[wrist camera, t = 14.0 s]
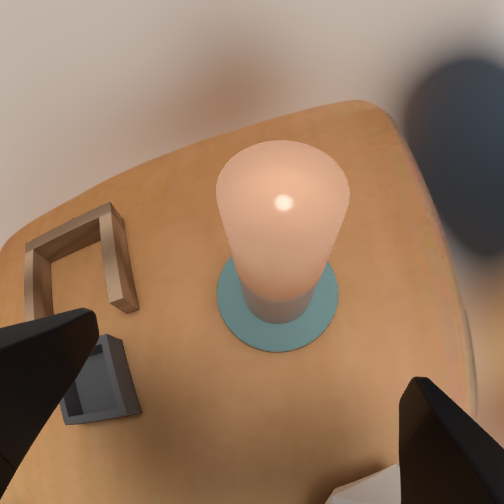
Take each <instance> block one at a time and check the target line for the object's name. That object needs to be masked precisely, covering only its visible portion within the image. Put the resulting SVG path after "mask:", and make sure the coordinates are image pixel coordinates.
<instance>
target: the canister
mask: <svg viewBox="0 0 504 504" xmlns="http://www.w3.org/2000/svg"><path fill="white" fill-rule="evenodd" d="M216 198H217V203H218V207H219V210H220V214H221V218H222V221H223V225H224V229H225V232H226V236H227V239H228V243H229V246H230V250H231V254H232V257H233V261H234V264H235V268H236V271H237V275H238V278H239V282H240V285H241V289H242V292H243V296H244V299H245V302H246V305H247V307H248V308H249V310H250V311H251V312H252V313H253V314H254V315H255V316H256V317H257V318H259V319H260V320H262V321H264V322H267V323H272V324H284V323H288V322H291V321H293V320H295V319H297V318H298V317H300V316H301V315H302V314H303V313H304V312H305V310H306V309H307V307H308V306H309V303H310V301H311V299H312V296H313V294H314V292H315V289H316V287H317V285H318V282H319V280H320V278H321V275H322V273H323V270H324V268H325V265H326V263H327V261H328V258H329V256H330V253H331V251H332V248H333V245H334V243H335V240H336V238H337V235H338V233H339V230H340V227H341V225H342V222H343V219H344V217H345V214H346V211H347V208H348V205H349V200H350V190H349V184H348V181H347V178H346V176H345V174H344V172H343V171H342V169H341V168H340V167H339V165H338V164H337V163H336V162H335V161H334V160H333V159H332V158H331V157H329V156H328V155H327V154H325V153H324V152H322V151H321V150H319V149H317V148H315V147H312V146H310V145H307V144H304V143H300V142H295V141H287V140H276V141H267V142H262V143H258V144H255V145H252V146H250V147H248V148H246V149H244V150H242V151H240V152H239V153H237V154H236V155H235V156H233V157H232V158H231V159H230V160H229V161H228V162H227V163H226V165H225V166H224V168H223V169H222V171H221V173H220V175H219V177H218V180H217V185H216Z"/></svg>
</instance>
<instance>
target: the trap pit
mask: <svg viewBox="0 0 504 504" xmlns="http://www.w3.org/2000/svg"><path fill="white" fill-rule="evenodd" d="M60 407H61V411H62V415H63V419H64V422H65V425H75V424H86V423H92V422H98V421H104V420H109V419H114V418H120V417H125V416H129V415H134V414H139V413H142V411H141V408H140V405H139V402H138V399H137V395H136V392H135V389H134V385H133V382H132V378H131V375H130V371H129V367H128V364H127V360H126V356H125V352H124V348H123V343H122V340H120V339H118V338H115V337H113V336H110V335H108V334H105V335H101V336H99V340H98V342H97V344H96V346H95V347H94V349H93V351H92V352H91V354H90V356H89V357H88V359H87V361H86V363H85V364H84V366H83V368H82V370H81V371H80V373H79V375H78V376H77V378H76V380H75V381H74V383H73V384H72V385H71V387H70V388H69V390H68V391H67V393H66V394H65V395H64V397H63V398H62V400H61V401H60Z"/></svg>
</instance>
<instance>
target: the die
mask: <svg viewBox="0 0 504 504" xmlns="http://www.w3.org/2000/svg"><path fill="white" fill-rule="evenodd" d="M325 504H401V485H400V466H398V465H397V464H394V465H392V466H390V467H388V468H385V469H383V470H381V471H379V472H376V473H374V474H372V475H369V476H367V477H364V478H362V479H359V480H357V481H354V482H351V483H349V484H346V485H343V486H340V487H337V488H335V489H334V490H333V492H332V493H331V495H330V496H329V498H328V499H327V501H326V502H325Z"/></svg>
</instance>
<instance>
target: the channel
mask: <svg viewBox="0 0 504 504" xmlns="http://www.w3.org/2000/svg"><path fill="white" fill-rule="evenodd" d="M99 240H101V245H102V255H103V263H104V271H105V278H106V285H107V292H108V298H109V303H110V304H112V305H114V306H115V307H117V308H118V309H120V310H122V311H123V312H125V313H127V314H128V313H131V312H133V311H136V310H139V305H138V300H137V295H136V291H135V286H134V281H133V276H132V271H131V265H130V260H129V254H128V248H127V242H126V235H125V228H124V221H123V219H122V217H121V216H120V215H119V213H118V212H117V211H116V209H115V208H114V207H113V205H112V204H111V202H108V203H106V204H104V205H102V206H99V207H97V208H95V209H93V210H91V211H89V212H86V213H84V214H82V215H80V216H78V217H76V218H74V219H72V220H70V221H68V222H66V223H64V224H62V225H60V226H58V227H56V228H54V229H52V230H50V231H48V232H46V233H44V234H42V235H41V236H39V237H37V238H35V239H33V240H31V241H30V242H28V243H26V250H25V274H24V296H25V320H26V322H27V321H31V320H35V319H39V318H43V317H47V316H51V315H53V305H52V290H51V262H53V261H55V260H57V259H59V258H61V257H64V256H66V255H68V254H70V253H72V252H74V251H77V250H79V249H81V248H83V247H86V246H88V245H90V244H92V243H95V242H97V241H99Z"/></svg>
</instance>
